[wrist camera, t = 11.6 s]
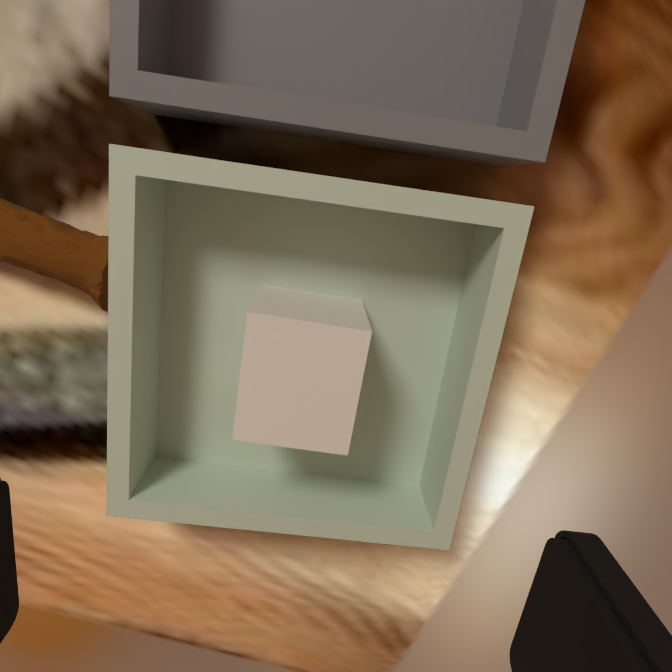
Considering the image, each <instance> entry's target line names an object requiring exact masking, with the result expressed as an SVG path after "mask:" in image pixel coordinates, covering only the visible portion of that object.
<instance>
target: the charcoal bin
mask: <svg viewBox="0 0 672 672" xmlns="http://www.w3.org/2000/svg"><path fill="white" fill-rule="evenodd" d="M584 4H585V0H110V88H109V96H111V97H113V98H116V99H118V100H120V101H123V102H125V103H128V104H130V105H132V106H135V107H137V108H140V109H142V110H144V111H147V112H149V113H152V114H154V115H160V116H167V117H173V118H180V119H186V120H193V121H200V122H206V123H213V124H220V125H226V126H233V127H239V128H246V129H253V130H259V131H266V132H272V133H279V134H286V135H292V136H299V137H305V138H312V139H319V140H325V141H332V142H338V143H345V144H352V145H358V146H365V147H371V148H378V149H385V150H391V151H398V152H404V153H411V154H418V155H424V156H431V157H438V158H444V159H451V160H457V161H464V162H471V163H477V164H484V165H490V166H497V167H508V166H517V165H527V164H536V163H545V162H546V158H547V154H548V150H549V146H550V142H551V138H552V134H553V130H554V126H555V122H556V117H557V113H558V109H559V105H560V101H561V97H562V93H563V89H564V85H565V81H566V77H567V73H568V69H569V65H570V61H571V57H572V53H573V49H574V45H575V41H576V37H577V33H578V29H579V24H580V20H581V16H582V12H583V8H584Z"/></svg>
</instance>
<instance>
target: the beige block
mask: <svg viewBox="0 0 672 672" xmlns="http://www.w3.org/2000/svg"><path fill="white" fill-rule="evenodd" d="M371 334H372V330H371V327H370V324H369V320H368V317H367V314H366V311H365V308H364V305H363V302H362V300H359V299H353V298H346V297H340V296H334V295H328V294H321V293H315V292H309V291H302V290H296V289H290V288H284V287H277V286H271V285H265V284H264V286H263V287H262V289H261V291H260V292H259V294H258V295H257V297H256V299H255V300H254V302H253V304H252V305H251V307H250V309H249V310H248V312H247V319H246V328H245V336H244V345H243V353H242V362H241V370H240V378H239V387H238V395H237V404H236V412H235V420H234V429H233V437H232V440H237V441H244V442H251V443H259V444H266V445H273V446H281V447H288V448H295V449H303V450H310V451H317V452H325V453H332V454H339V455H347V456H348V452H349V447H350V441H351V436H352V431H353V426H354V421H355V416H356V411H357V406H358V401H359V396H360V390H361V385H362V380H363V375H364V370H365V365H366V360H367V355H368V350H369V345H370V339H371Z"/></svg>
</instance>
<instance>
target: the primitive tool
mask: <svg viewBox="0 0 672 672" xmlns="http://www.w3.org/2000/svg"><path fill="white" fill-rule="evenodd" d="M108 245H109V236H97V235H95V234H93V233H90V232H87V231H81V230H78V229H76V228H74V227H72V226H71V225H68V224H66V223H63V222H60V221H57V220H55V219H53V218H51V217H49V216H43V215H40V214H38V213H36V212H34V211H31V210H28V209H27V208H24V207H21V206H19V205H16V204H13V203H11V202H9V201H6V200H4V199H2V198H0V261H4V262H7V263H10V264H13V265H16V266H19V267H22V268H25V269H28V270H31V271H34V272H36V273H39V274H41V275H43V276H47V277H50V278H53V279H56V280H59V281H62V282H64V283H66V284H69V285H71V286H73V287H77V288H79V289H81V290H83V291H85V292H87V293H88V294H90V295H91V296H92V298H93V299H94V300H95V301H96V302H97V303H98V305H99V306H100V307H101V308H102V309H103V310H105V311H108Z"/></svg>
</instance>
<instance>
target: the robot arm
mask: <svg viewBox="0 0 672 672" xmlns="http://www.w3.org/2000/svg"><path fill="white" fill-rule="evenodd" d="M18 608H19V597H18V585H17V574H16V562H15V550H14V539H13V527H12V515H11V504H10V492H9V486H8V484H7V482H5V481H1V479H0V643H1V642H2V640H3V639H4V637H5V636H6V634H7V633H8V631H9V630H10V628H11V626H12V625H13V623H14V621H15V619H16V616H17V612H18ZM510 664H511V669H512V672H672V636H671V634H670V633H669V632H668V631H667V629H666V627H665V626H664V625H663V623H662V622H661V621H660V619H659V618H658V617H657V615H656V614H655V613H654V611H653V610H652V608H651V607H650V606H649V604H648V603H647V602H646V600H645V599H644V598H643V596H642V595H641V594H640V592H639V591H638V589H637V588H636V587H635V585H634V584H633V583H632V581H631V580H630V579H629V577H628V576H627V574H626V573H625V572H624V571H623V569H622V568H621V566H620V565H619V564H618V562H617V561H616V560H615V558H614V557H613V555H612V554H611V553H610V551H609V550H608V549H607V547H606V546H605V545H604V543H603V542H602V541H601V539H600V538H599V537H598V536H597V535H595V534H592V533H583V532H572V531H560V532H558V533H557V534H556V536H555V538H550V539H549V540H548V541H547V543H546V545H545V548H544V551H543V554H542V556H541V560H540V563H539V566H538V568H537V572H536V574H535V577H534V580H533V583H532V586H531V589H530V592H529V595H528V598H527V600H526V603H525V606H524V609H523V612H522V615H521V618H520V621H519V624H518V627H517V630H516V633H515V636H514V639H513V642H512V644H511V648H510Z"/></svg>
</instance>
